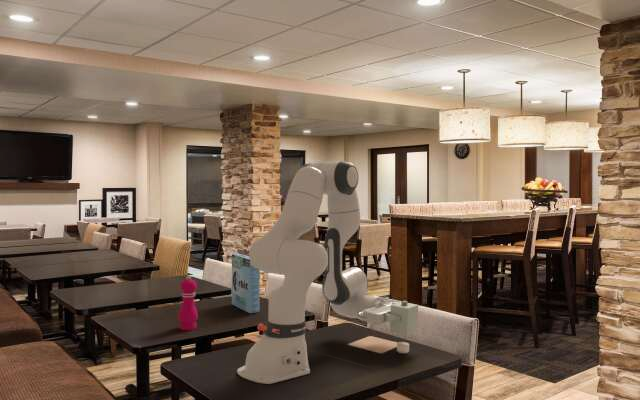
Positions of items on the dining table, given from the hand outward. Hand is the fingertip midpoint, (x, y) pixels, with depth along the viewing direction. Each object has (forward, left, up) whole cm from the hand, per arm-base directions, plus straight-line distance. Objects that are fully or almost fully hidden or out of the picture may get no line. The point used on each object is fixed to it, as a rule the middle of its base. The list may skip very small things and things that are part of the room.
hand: (406, 316), depth 181 cm
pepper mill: (-32, +75, -12) cm, 82 cm away
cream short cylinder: (0, +1, -12) cm, 12 cm away
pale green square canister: (0, +1, -5) cm, 5 cm away
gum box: (+4, +83, -12) cm, 84 cm away
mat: (0, +12, -12) cm, 17 cm away
